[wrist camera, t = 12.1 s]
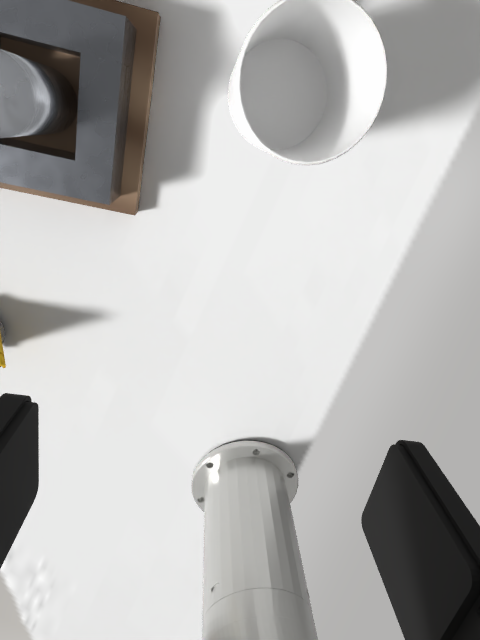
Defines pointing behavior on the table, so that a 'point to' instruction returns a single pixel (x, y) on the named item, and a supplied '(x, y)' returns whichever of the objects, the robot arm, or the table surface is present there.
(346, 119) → the mug
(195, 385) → the table surface
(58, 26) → the socket block
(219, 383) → the table surface
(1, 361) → the drill bit
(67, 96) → the steel peg
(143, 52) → the dock board
